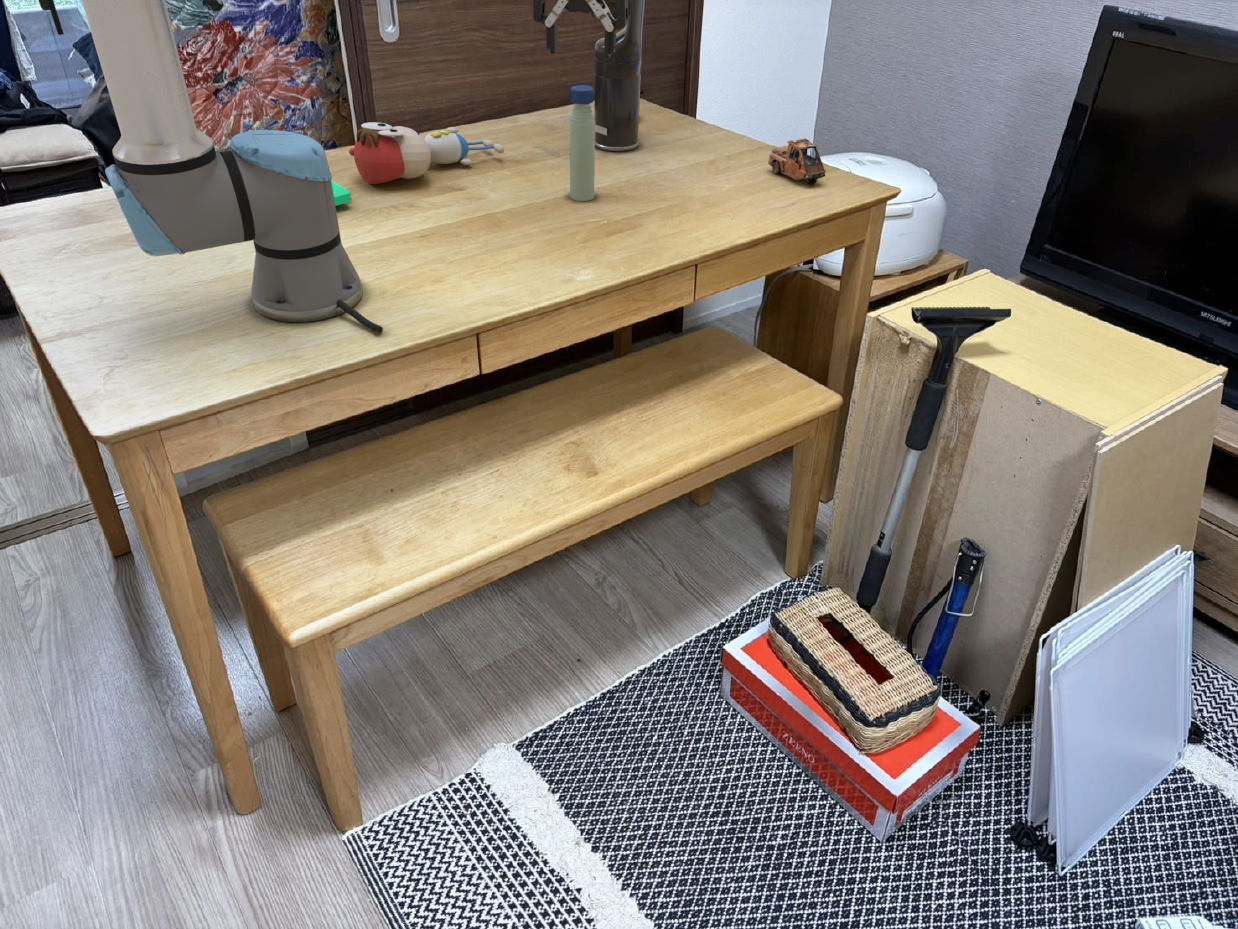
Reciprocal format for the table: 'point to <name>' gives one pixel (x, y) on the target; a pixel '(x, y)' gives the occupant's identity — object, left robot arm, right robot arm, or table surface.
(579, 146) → the bottle
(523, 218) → the table surface
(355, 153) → the toy
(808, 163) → the toy car
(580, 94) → the cap
